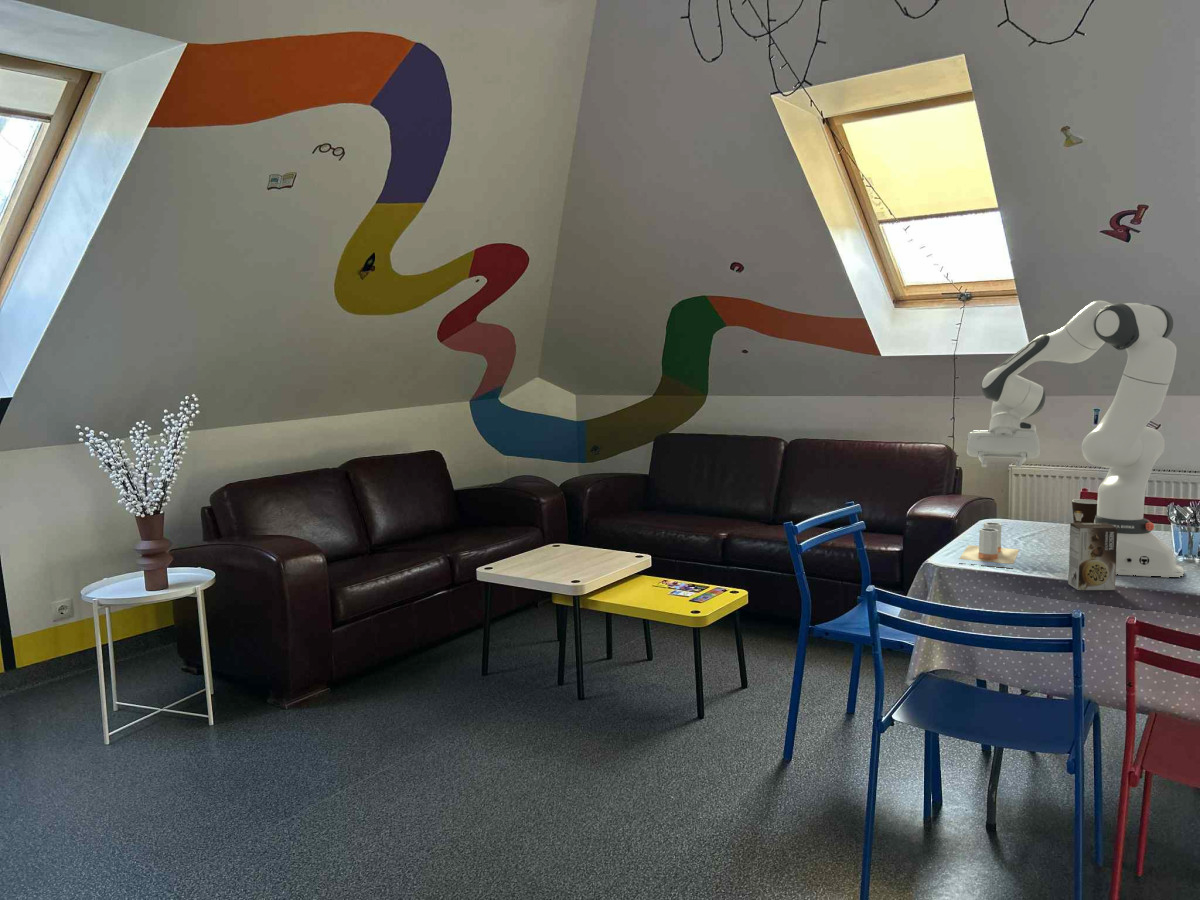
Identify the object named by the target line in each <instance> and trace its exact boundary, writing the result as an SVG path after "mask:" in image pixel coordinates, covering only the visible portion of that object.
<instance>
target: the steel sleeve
mask: <svg viewBox="0 0 1200 900" xmlns="http://www.w3.org/2000/svg"><path fill="white" fill-rule="evenodd" d="M978 540H979V541H978V546H979V553H978V558H981V559H988V560H994V559H997V558H998V530H997V529H991V528H980V529H979V539H978Z"/></svg>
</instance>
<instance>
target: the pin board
mask: <svg viewBox="0 0 1200 900" xmlns="http://www.w3.org/2000/svg"><path fill="white" fill-rule="evenodd" d="M1019 552H1020V549H1019V548H1018V549H1017V548H1006V547H1001V552H998V558H997V559H994V560H988V559H981V558H978V553H979V545H972V544H970V545H969V544H968V545H967V547H966V548H965V549H964V551H963V552H962V554H961V555H960V557H958V559H959V560H965V561H976V562H985V563H986V562H987V563H988V562H989V563H995V564H996V563H997V564H1009V565H1010V564H1012V565H1014V564H1015V560H1016V559H1017V557H1018V554H1019ZM963 564H965V563H962V562H959V563H958V565H963ZM970 564H971V565H970V566H974V565H976V564H975V563H974V564H973V563H970ZM980 565H981V566H980V567H984V566H987V567H986V568H995V567H996V569H997V568H998V569H1005V568H1006V570H1007V569H1008V570H1014V567H1004V566H993V565H983V564H980Z"/></svg>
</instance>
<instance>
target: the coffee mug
mask: <svg viewBox="0 0 1200 900" xmlns="http://www.w3.org/2000/svg"><path fill="white" fill-rule="evenodd" d="M1097 502H1098V500H1095V499H1085V498H1084V499H1083V498H1080V499H1078V498H1077V499H1072V500H1071V507H1072V519H1073V523H1094V519H1095V515H1097Z"/></svg>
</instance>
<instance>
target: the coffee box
mask: <svg viewBox="0 0 1200 900" xmlns="http://www.w3.org/2000/svg"><path fill="white" fill-rule="evenodd" d="M1069 528H1070V529H1069V552H1068V553H1069V555H1068V557H1069V558H1068V582H1067V583H1068V585H1070V586H1071V587H1072V588H1073V589H1075V590H1078V591H1116V579H1117V578H1116V577H1117V574H1116V549H1117V527H1114V526H1113V525H1111V524H1108V523H1074V522H1070V525H1069Z"/></svg>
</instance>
